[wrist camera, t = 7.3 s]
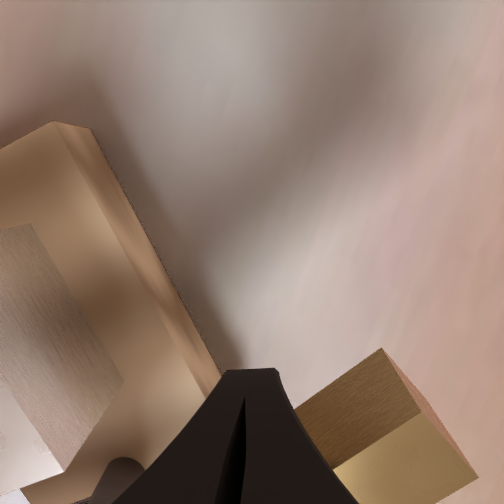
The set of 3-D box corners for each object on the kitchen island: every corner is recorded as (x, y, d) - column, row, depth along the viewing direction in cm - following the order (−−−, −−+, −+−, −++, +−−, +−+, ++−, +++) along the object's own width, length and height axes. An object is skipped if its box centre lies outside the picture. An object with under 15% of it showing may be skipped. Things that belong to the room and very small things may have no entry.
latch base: (240, 411, 20) (222, 575, 12) (74, 474, 21) (-41, 656, 14) (89, 128, 17) (-72, 95, 9) (-93, 225, 18) (-371, 271, 10)
